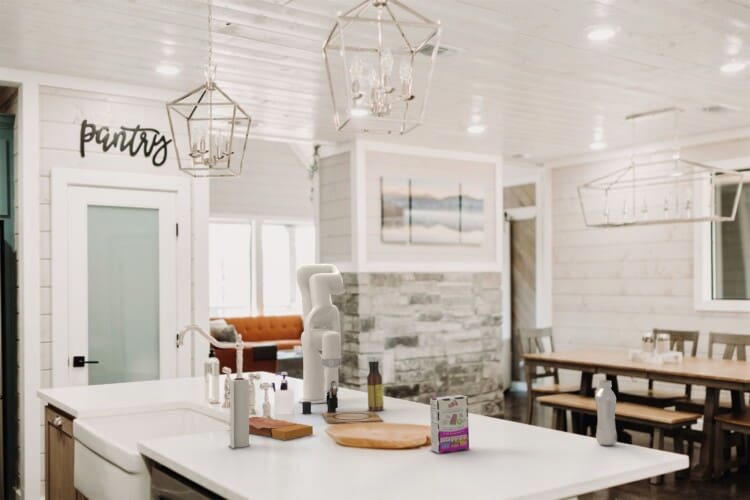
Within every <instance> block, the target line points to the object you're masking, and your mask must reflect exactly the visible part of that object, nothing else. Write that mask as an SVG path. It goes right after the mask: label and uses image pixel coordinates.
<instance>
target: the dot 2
mask: <svg viewBox="0 0 750 500" xmlns="http://www.w3.org/2000/svg"><path fill="white" fill-rule="evenodd" d="M326 405H327V407H326V408H327V410H326V411H327V413H336V412H337V408H330V403H329V401H327V402H326Z"/></svg>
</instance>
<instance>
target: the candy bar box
mask: <svg viewBox="0 0 750 500" xmlns="http://www.w3.org/2000/svg"><path fill="white" fill-rule="evenodd" d="M468 402H469V401H468V396H467V395H462V394H455V395H454V394H453V395H445V396H435V397H429V409H430V441H431V442H430V443H431V444H430V445H431V452H433V453H437V454H440V455H441V454H448V453H455V452H461V451H468V450H470V433H469V432H470V431H469V430H470V429H469V403H468Z"/></svg>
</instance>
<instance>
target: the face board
mask: <svg viewBox="0 0 750 500" xmlns="http://www.w3.org/2000/svg"><path fill="white" fill-rule="evenodd" d="M322 415H323V417H324V419H325V420H326V422H327V424H329V425H334V424H335V425H337V424H339V423H340V424H347V423H346V422H362V423H379V422H381V423H383V422H384V420H383V419H382V418H381V417H380V416H379V414H377V413H376V411H371V410H363V411H360V410H359V411H343V412H341V411H336V413H328V412H323V413H322Z"/></svg>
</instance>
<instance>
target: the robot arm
mask: <svg viewBox="0 0 750 500" xmlns="http://www.w3.org/2000/svg"><path fill="white" fill-rule="evenodd" d="M296 283H297V285H298V288H299V291H300V294H301V303H302V305H301V306H302V319H303V322H304V325H303V332H301V335H300V343H301V348H302V361H303V362H302V364H303V365H302V367H303V368H302V369H303V372H302V373H303V376H302V377H303V378H302V379H303V380H302V381H303V382H302V383H303V397H301V398H300V399H299V403H301V404H302V402H305V401H310V402H311V405H313V404H314V405H315V404H317V405H318V404H324V403H326V404H327V401H329V403H330V408H336V409H338V408H339V402H338V401H339V398H338V392H339V382H340V381H339V368H341V367H342V349H341V347H342V345H341V344H342V334H341V319H340V318H341V317H340V311H339V309H338V307H337V305H335V304H333V301H332V294H338V293H341V292H342V291H343V290H344V280H343V276H342V274H341V272H340V270H339V268H338V267H337V266H336V265H335V264H333V263H305V264H300V265H299V266H298V267H297V269H296ZM324 326H325V327H328V328H313V327H324ZM320 352H321V353H320Z"/></svg>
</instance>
